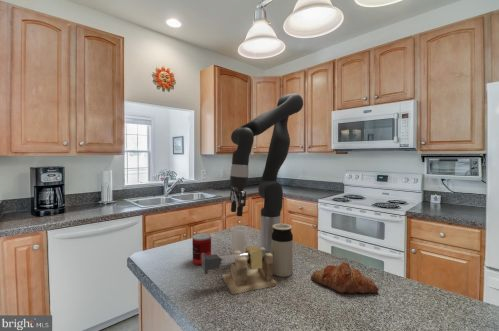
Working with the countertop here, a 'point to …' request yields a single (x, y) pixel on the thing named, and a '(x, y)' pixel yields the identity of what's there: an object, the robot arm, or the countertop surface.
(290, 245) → the travel mug
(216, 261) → the shaft
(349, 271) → the pastry
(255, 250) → the block
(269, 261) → the block
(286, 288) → the countertop surface
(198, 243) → the canned food
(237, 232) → the drinking glass
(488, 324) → the countertop surface
